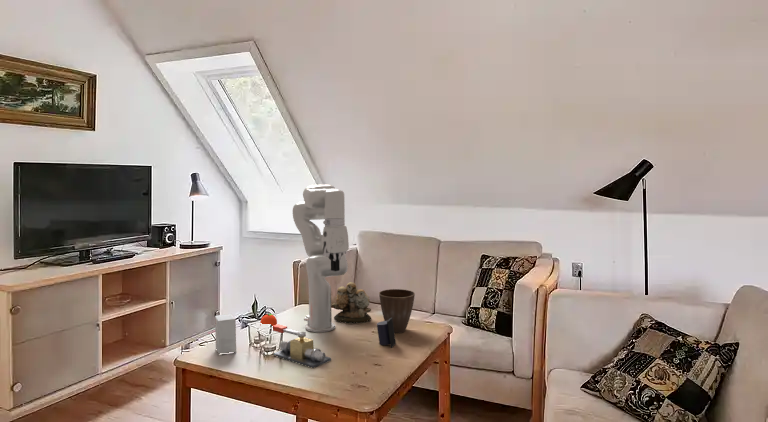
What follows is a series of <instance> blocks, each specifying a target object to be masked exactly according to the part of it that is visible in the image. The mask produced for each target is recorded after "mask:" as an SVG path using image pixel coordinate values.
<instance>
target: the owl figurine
mask: <svg viewBox="0 0 768 422" xmlns="http://www.w3.org/2000/svg"><path fill="white" fill-rule="evenodd" d="M335 298H336V299H335V302H333V303H331V308H333V309H334V310H339V311H340V312H338V313H336V314H335V316H334V317H333V319H334V322H338V323H345V324H363V323H367V322H371V320H372V317H371V315H370V314H368V313H371V312H372V308H369V306H370V296H369V295H368V294H367V293H366V291H365V289H362V288H361V289H358V288H357V285H356V283H355V282H351V281H350V282H348V283H347V284H346V287H345V286H344V285H342V286H339V287H338V288H337V293H336V297H335Z"/></svg>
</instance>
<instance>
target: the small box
mask: <svg viewBox="0 0 768 422" xmlns="http://www.w3.org/2000/svg"><path fill="white" fill-rule="evenodd" d="M214 318H215V320H214V323H215V324H214V327H215V328H214V329H215V331H214V332H215V350H216V349H217V351H218V353H219V354H220V353H229V352H236V353H237V334H236V333H237V330H236V329H237V328H236V320H237V319H236V318H235V316H234V315H233V314H232V313H228V314H219V315H215V316H214ZM217 351H216V352H217ZM218 353H217V354H218ZM219 354H218V355H219Z"/></svg>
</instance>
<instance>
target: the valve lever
mask: <svg viewBox="0 0 768 422" xmlns="http://www.w3.org/2000/svg"><path fill="white" fill-rule="evenodd" d="M272 331H273V332H276V333H281V334H283V333H286V334H290V335H294V336H297V338H299V337H305V338H306V336H307V333H306V331H299V330H295V329H292V328H288V326H287V325H282V324H278V323H277V325H274V326H273V330H272Z"/></svg>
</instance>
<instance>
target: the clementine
mask: <svg viewBox="0 0 768 422" xmlns="http://www.w3.org/2000/svg"><path fill="white" fill-rule="evenodd" d="M277 318H278V316H277V315H276V314H274V313H267V314H265V315H263V316H262V317H261V319H260V322H259V323H262V324H271V325H272V326H274V325H278V320H277Z"/></svg>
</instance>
